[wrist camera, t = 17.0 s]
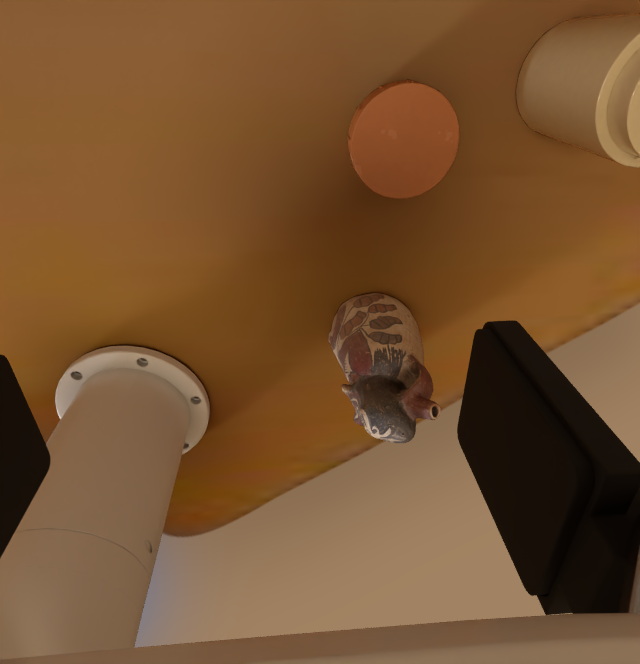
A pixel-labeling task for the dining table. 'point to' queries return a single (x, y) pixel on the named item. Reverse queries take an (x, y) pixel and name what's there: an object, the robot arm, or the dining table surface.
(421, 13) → the dining table surface
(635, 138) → the honey jar
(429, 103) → the jar lid
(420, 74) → the dining table surface
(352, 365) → the figurine
